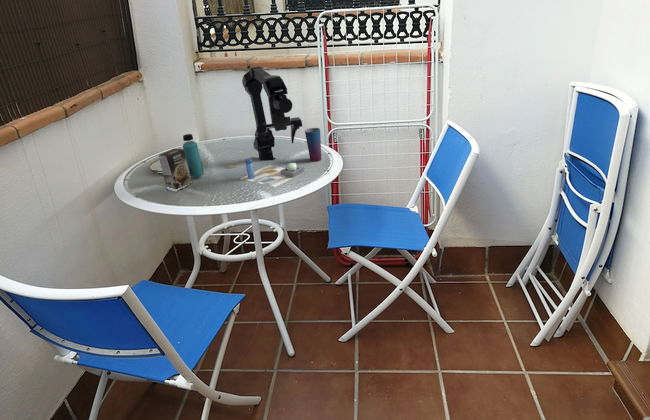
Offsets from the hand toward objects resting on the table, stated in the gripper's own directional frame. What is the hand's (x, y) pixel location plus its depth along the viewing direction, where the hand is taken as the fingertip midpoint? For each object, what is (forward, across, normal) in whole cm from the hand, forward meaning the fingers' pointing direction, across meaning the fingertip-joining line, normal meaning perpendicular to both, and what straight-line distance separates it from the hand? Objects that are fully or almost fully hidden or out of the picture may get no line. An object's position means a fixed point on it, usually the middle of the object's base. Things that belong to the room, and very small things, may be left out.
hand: (281, 144), depth 205 cm
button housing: (+12, +3, -4) cm, 13 cm away
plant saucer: (+14, -49, +34) cm, 62 cm away
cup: (+13, +15, +8) cm, 22 cm away
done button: (+11, +3, -4) cm, 12 cm away
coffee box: (+14, -46, +5) cm, 48 cm away
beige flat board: (+13, -6, -2) cm, 15 cm away
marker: (+12, -15, -1) cm, 19 cm away
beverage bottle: (+14, -38, +14) cm, 43 cm away
